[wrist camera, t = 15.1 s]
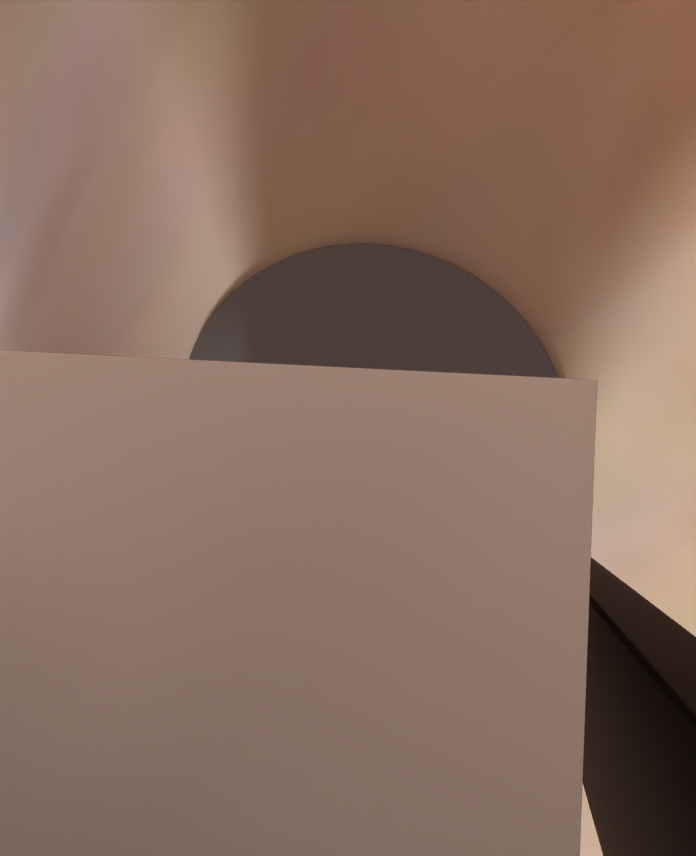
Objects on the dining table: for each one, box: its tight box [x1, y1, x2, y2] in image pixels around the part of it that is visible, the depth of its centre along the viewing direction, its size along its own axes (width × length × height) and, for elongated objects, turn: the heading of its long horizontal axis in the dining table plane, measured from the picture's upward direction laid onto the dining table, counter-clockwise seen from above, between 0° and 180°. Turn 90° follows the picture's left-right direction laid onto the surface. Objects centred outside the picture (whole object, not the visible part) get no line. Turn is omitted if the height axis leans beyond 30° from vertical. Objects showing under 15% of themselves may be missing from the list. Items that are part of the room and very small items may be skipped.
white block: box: [0, 350, 597, 856], centre depth 8 cm, size 8×8×9 cm
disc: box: [189, 244, 557, 378], centre depth 13 cm, size 12×12×1 cm
